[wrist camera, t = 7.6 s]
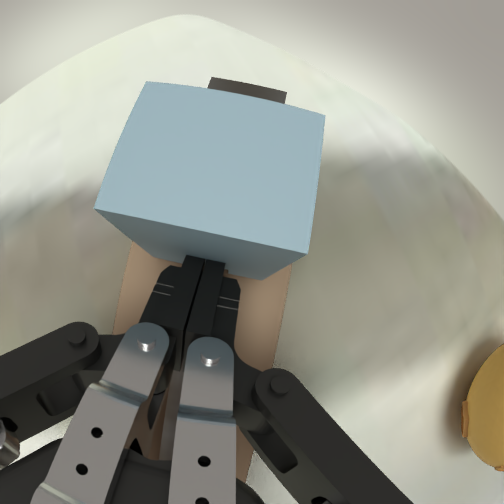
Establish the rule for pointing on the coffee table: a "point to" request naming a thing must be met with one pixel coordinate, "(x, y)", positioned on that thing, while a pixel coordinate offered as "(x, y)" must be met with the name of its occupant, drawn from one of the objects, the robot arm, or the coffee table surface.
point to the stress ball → (486, 411)
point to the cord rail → (248, 320)
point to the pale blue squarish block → (215, 178)
